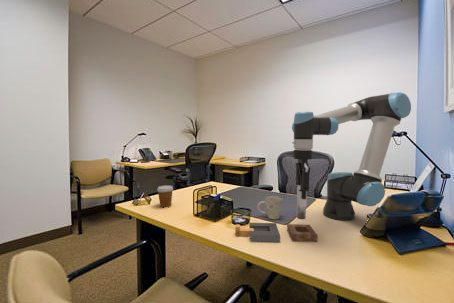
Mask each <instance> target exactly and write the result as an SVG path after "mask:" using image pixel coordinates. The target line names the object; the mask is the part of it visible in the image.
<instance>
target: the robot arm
mask: <svg viewBox="0 0 454 303" xmlns="http://www.w3.org/2000/svg"><path fill="white" fill-rule="evenodd" d="M411 110H412V103H411V100H410V98H409V96H408V95H407V94H406V93H404V92H401V91H400V92H391V93H386V94H380V95H373V96H368V97H365V98H363V99H360V100H358V101H354V102H351V103H349V104H348V105H347V106H345V107H339V108H337V109H334V110H330V111H327V112H323V113H320V114H317V115H314V112H313V111H298V112H294V117H293V123H292V125H291V129H292V132H293V141H292V142H291V143H292V144H293V153H292V154H293V155H292V156H293V157H292V158H293V159H294V160H297V162H295V185H296V186H297V185H300V187H301V189H300V190H299V191H300V199H299V206H306V207H307V204H308V202H307V200H308V198H307V197H308V192H309V190H310V172H311V167H310V165H309V163H308V162H309V161H308V160H310V161H311V160H312V159H313V148H314V136H317V135H318V136H332V135H334V134H336V133H337V132H338V130H339V125H341V124H345V123H347V122H358V121H362V120H363V121H365V120H366V121H367V120H370V121H371V122H372V126H371V129H370V132H369V136H368V138H367V142H366V144H365V145H366V146H365V149H364V151H363V155H362V158H361V161H360V164H359V167H358V170H355V171H354V172H353V173H352V172H348V171H347V172H345V171H342V172H341V171H340V172H338V171H337V172H330V173H328V175H327V180H326V181H327V182H326V191H327V192H326V201H325V204H324V206H323V209H322V210H323V211H322V213H323V216H325V217H327V218H329V219H333V220H337V221H353V220H355V218H356V213H355V210H354V205H353V204H352V202H355V203H356V204H359V205H362V206H366V207H375V206H377V205H378V204H379V203H381V202H382V201H383V199H384V198H385V194H386V190H385V188H386V187H385V185H384V184H383V183H382V182H383V179H382V177H381V175H380V174H381V171H382V170H383V169H382V168H383V165H384V162H385V158H386V155H387V152H388V149H389V146H390V143H391V139H392V136H393V133H394V131H395V130H394V129H395V128H396V126H398V125H400V124H401V121H402V119H404V118H407V117H408V116H409V115H410V114H411V112H412V111H411Z"/></svg>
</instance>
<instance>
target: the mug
mask: <svg viewBox="0 0 454 303" xmlns="http://www.w3.org/2000/svg"><path fill="white" fill-rule="evenodd" d="M282 202H283V199H282V198H281V197H278V196H267V197H265V200H261V201H259V202H258V204H257V210H258V211H259V212H260V213H261V214H267V218H268V219H270V220H280V218H281V217H280V216H281V209H282V208H281V207H282ZM262 204H265V206H266V211H263V210H261V205H262Z"/></svg>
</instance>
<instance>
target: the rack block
mask: <svg viewBox="0 0 454 303" xmlns="http://www.w3.org/2000/svg"><path fill="white" fill-rule="evenodd" d="M286 231H287V234H288V235H289V238H290V240H291V241H292V242H299V243H300V242H303V243H305V242H306V243H310V242H311V243H317V242H318V234H317V233H316V231H315V230H314V228H313V227H312V226H311V224H300V223H299V224H298V223H296V224H295V223H293V224H292V223H291V224H290V223H287V224H286Z"/></svg>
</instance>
